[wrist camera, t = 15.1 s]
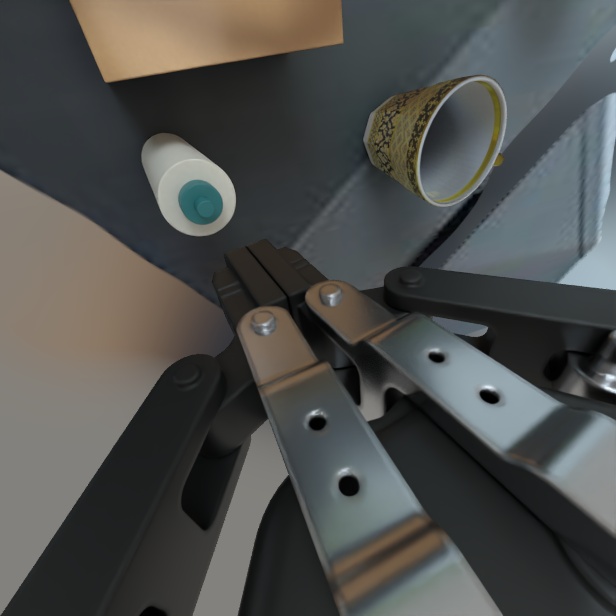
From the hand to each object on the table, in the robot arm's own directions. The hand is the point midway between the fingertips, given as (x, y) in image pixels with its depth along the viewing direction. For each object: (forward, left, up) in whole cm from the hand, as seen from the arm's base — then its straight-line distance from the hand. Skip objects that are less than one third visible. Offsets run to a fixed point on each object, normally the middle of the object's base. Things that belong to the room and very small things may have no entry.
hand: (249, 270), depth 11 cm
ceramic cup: (+24, -3, -21) cm, 32 cm away
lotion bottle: (0, 0, -21) cm, 21 cm away
